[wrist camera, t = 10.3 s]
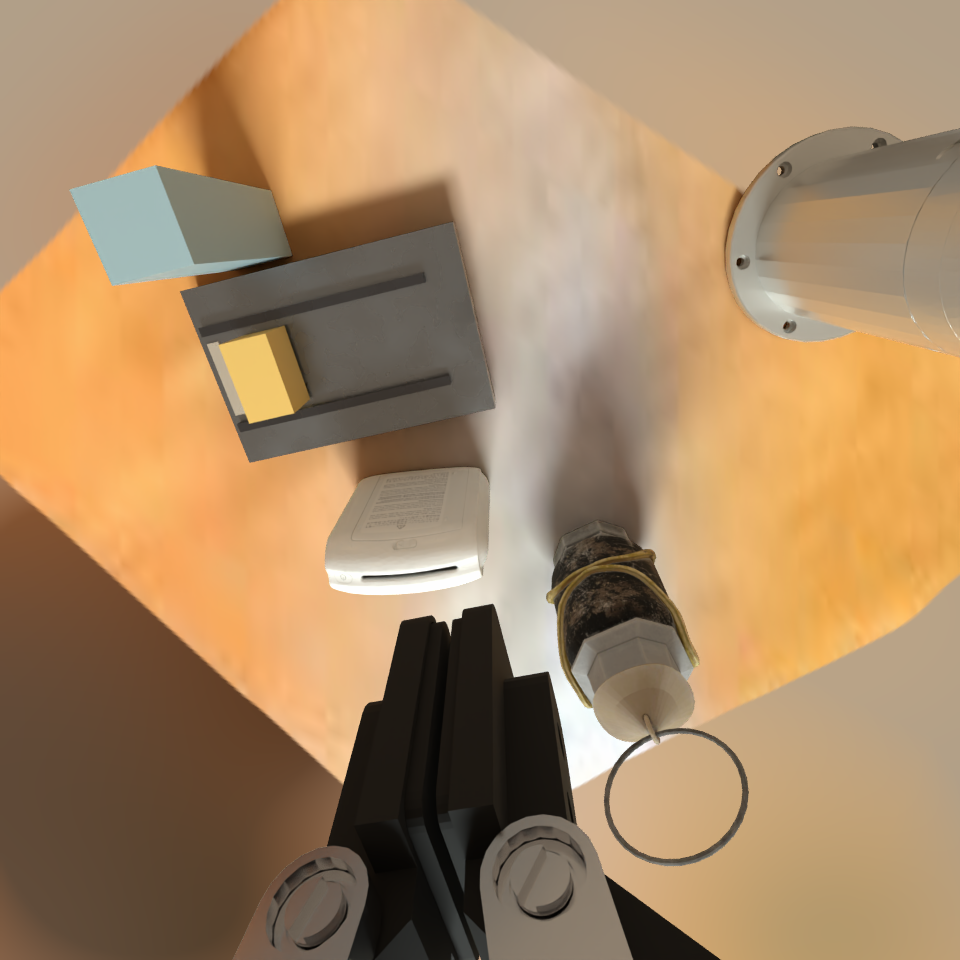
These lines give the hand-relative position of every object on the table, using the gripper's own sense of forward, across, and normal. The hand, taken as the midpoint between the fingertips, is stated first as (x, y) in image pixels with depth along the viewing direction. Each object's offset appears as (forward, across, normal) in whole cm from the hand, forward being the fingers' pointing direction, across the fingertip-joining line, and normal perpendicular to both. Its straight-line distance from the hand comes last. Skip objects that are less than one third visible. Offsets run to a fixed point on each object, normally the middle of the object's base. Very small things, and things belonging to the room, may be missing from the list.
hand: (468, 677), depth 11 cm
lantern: (+33, -5, +18) cm, 38 cm away
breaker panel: (+33, +9, -2) cm, 34 cm away
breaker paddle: (+30, +14, -2) cm, 33 cm away
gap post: (+33, +13, -11) cm, 37 cm away
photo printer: (+33, +7, +10) cm, 35 cm away
